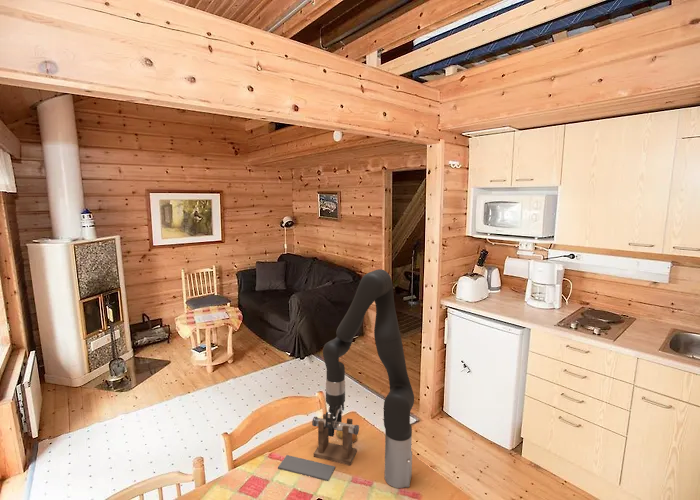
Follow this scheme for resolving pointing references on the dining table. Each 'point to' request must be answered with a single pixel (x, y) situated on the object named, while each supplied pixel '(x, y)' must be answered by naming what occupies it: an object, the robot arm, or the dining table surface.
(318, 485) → the dining table surface
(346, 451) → the rack
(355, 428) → the capped glass tube
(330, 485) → the dining table surface
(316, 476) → the mat
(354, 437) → the pastry
